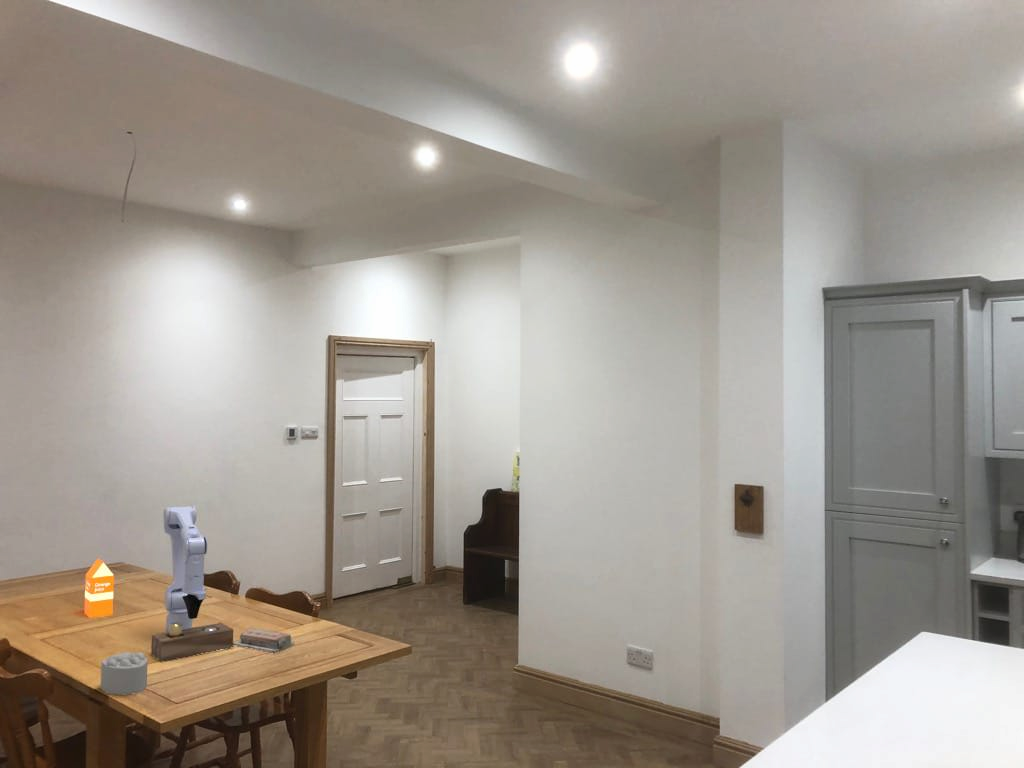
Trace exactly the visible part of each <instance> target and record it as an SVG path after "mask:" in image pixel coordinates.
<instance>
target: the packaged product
mask: <svg viewBox="0 0 1024 768" xmlns="http://www.w3.org/2000/svg"><path fill="white" fill-rule="evenodd" d="M233 645H238V646H237V647H239V646H243V647H242V648H244V647H248V648H247V649H249V648H253V649H252V650H254V649H258V650H257V651H260V650H263V651H262V652H266V651H268V653H271V652H274V653H273V654H276V653H275V652H277V653H279V652H281V650H282V651H284V650H286V648H287V649H289V648H292V647H294V646H295V641H292V635H291V634H289V633H286V632H280V631H274V630H268V629H262V628H257V627H249V628H247V629H245V630H244V631H243V632H241V633H240V635H239V640H237V641H234V642H233ZM293 645H294V646H293ZM291 646H292V647H291ZM288 647H289V648H288ZM283 649H284V650H283ZM278 651H279V652H278Z"/></svg>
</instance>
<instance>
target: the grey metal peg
mask: <svg viewBox="0 0 1024 768" xmlns="http://www.w3.org/2000/svg"><path fill="white" fill-rule="evenodd" d="M214 630H216V628H214V627H211V628H206V629H205V632H208V631H214Z"/></svg>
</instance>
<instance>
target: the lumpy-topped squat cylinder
mask: <svg viewBox="0 0 1024 768" xmlns="http://www.w3.org/2000/svg"><path fill="white" fill-rule="evenodd" d="M148 662H149V660H148V658H147V657H145V654H144V653H143V652H137V653H133V652H129V651H126V652H121V653H117V654H111V655H110V656H108V657H107V658H104V659H102V661H101V669H100V671H101V672H100V690H101V691H103V692H104V691H105V692H104V693H106V692H107V693H106V694H108V693H111V694H110V695H114V694H129V695H133V694H132V693H135V694H138V692H139V693H141V692H143V691H144V690H146V689H147V687H146V686H148V665H149V664H148ZM142 690H143V691H142ZM140 691H141V692H140Z"/></svg>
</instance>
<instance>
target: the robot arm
mask: <svg viewBox="0 0 1024 768" xmlns="http://www.w3.org/2000/svg"><path fill="white" fill-rule="evenodd" d="M197 515H198V514H197V508H196V506H195V505H189V506H188V505H187V506H172V507H171V506H166V507H165V508H164V509H163V529H164V533H166V534H167V535H169V537H170V542H171V558H172V574H173V575H172V577H173V578H172V579H173V582H172V583H170V585H169V586H167V587H166V588H165V590H164V594H165V595H164V608H165V611H166V612H168V613H167V615H166V619H165V620H166V623H165V625H166V626H165V627H166V628H165V632H169V627H170V624H171V623H175V622H180V623H182V629H188V628H193V620H194V619H197V618H198V616H199V611H200V609H201V608H200V607H201V605H202V603H203V601H204V600H206V599H207V598H206V597H207V595H206V594H207V593H206V592H205V591H207V590H208V587H206V586H204V583H205V581H204V580H205V555H207V552H208V539H207V538H206V536H205V535H201V532H200V530H199V528H198V526H197V525H195V524H196V522H197V517H198V516H197Z"/></svg>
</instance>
